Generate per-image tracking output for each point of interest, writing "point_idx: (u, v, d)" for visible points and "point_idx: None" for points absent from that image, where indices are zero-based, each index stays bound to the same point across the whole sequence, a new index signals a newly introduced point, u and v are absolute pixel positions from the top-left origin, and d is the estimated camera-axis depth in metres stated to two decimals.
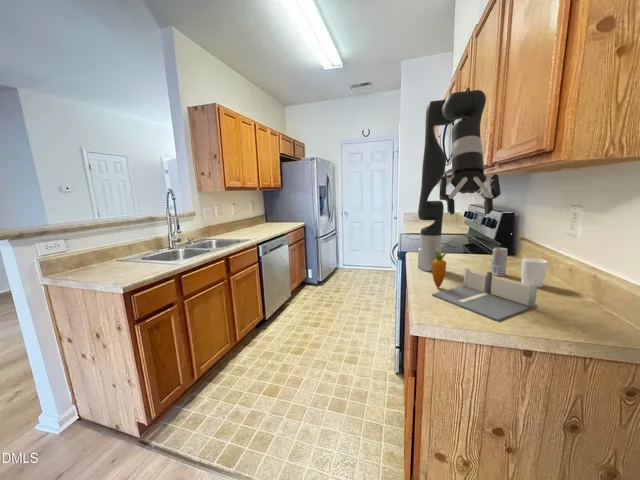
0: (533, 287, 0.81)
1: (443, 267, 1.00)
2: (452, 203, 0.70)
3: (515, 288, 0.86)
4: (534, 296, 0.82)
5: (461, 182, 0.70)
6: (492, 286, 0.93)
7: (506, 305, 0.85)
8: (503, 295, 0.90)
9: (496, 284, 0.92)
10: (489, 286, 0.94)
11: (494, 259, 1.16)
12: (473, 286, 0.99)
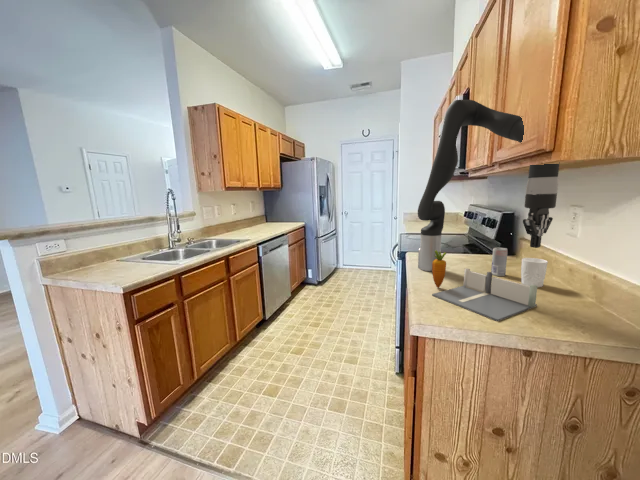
0: (533, 287, 0.81)
1: (443, 267, 1.00)
2: (538, 239, 0.83)
3: (515, 288, 0.86)
4: (534, 296, 0.82)
5: (542, 220, 0.81)
6: (492, 286, 0.93)
7: (506, 305, 0.85)
8: (503, 295, 0.90)
9: (496, 284, 0.92)
10: (489, 286, 0.94)
11: (494, 259, 1.16)
12: (473, 286, 0.99)
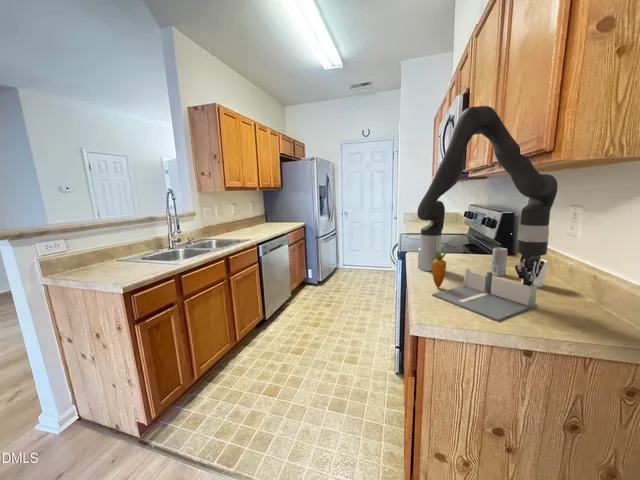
0: (533, 287, 0.81)
1: (443, 267, 1.00)
2: (530, 284, 0.84)
3: (515, 288, 0.86)
4: (534, 296, 0.82)
5: (534, 266, 0.82)
6: (492, 286, 0.93)
7: (506, 305, 0.85)
8: (503, 295, 0.90)
9: (496, 284, 0.91)
10: (489, 286, 0.94)
11: (494, 259, 1.16)
12: (473, 286, 0.99)
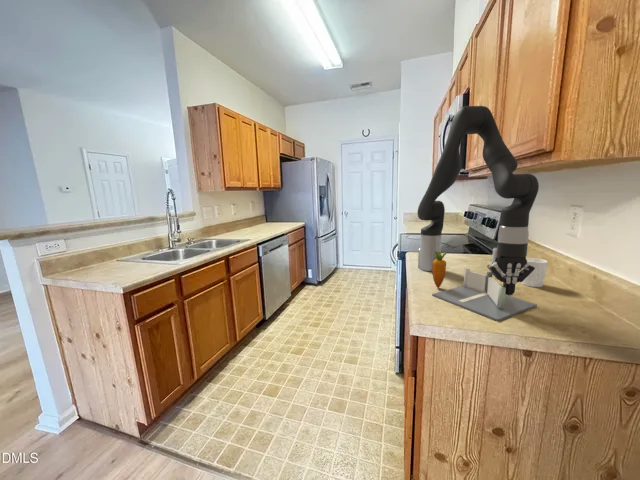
0: (499, 288, 0.81)
1: (443, 267, 1.00)
2: (509, 287, 0.82)
3: (494, 289, 0.86)
4: (500, 297, 0.81)
5: (508, 268, 0.81)
6: (488, 286, 0.93)
7: (506, 305, 0.85)
8: (490, 295, 0.90)
9: (489, 284, 0.92)
10: None
11: (494, 259, 1.16)
12: (473, 286, 0.99)
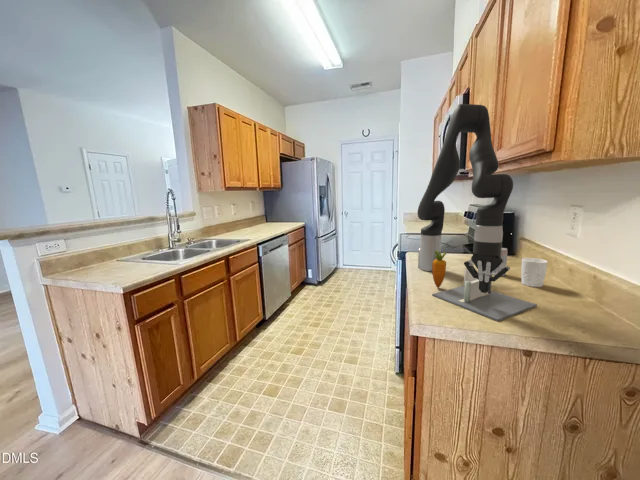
0: (465, 282, 0.88)
1: (443, 267, 1.00)
2: (481, 284, 0.84)
3: None
4: (464, 291, 0.88)
5: (479, 265, 0.84)
6: None
7: (506, 305, 0.85)
8: None
9: None
10: None
11: None
12: None
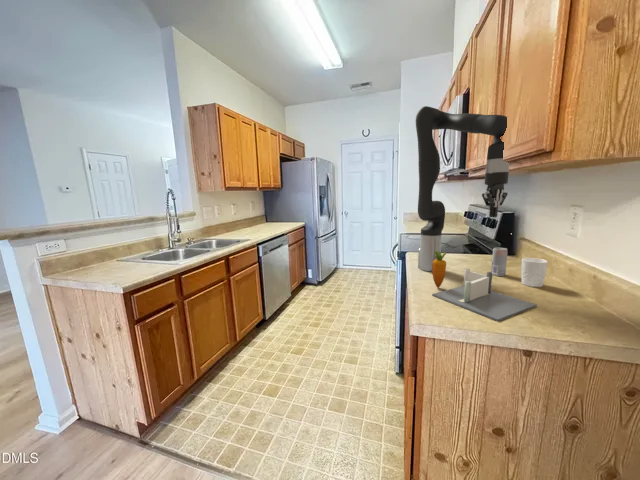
0: (465, 282, 0.88)
1: (443, 267, 1.00)
2: (495, 210, 1.02)
3: None
4: (464, 291, 0.88)
5: (497, 194, 1.00)
6: None
7: (506, 305, 0.85)
8: None
9: None
10: (489, 286, 0.94)
11: (494, 259, 1.16)
12: None
